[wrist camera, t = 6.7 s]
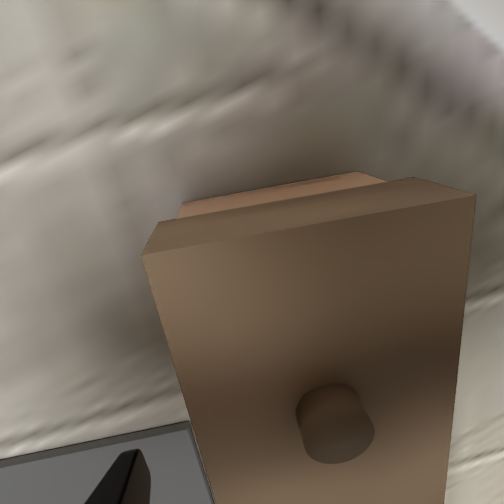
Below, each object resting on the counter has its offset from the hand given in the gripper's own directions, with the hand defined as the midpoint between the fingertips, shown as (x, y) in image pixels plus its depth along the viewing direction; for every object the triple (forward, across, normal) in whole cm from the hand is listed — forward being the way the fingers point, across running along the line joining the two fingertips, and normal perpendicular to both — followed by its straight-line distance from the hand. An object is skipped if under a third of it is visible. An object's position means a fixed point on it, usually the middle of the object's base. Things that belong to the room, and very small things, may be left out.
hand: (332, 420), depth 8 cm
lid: (+2, 0, 0) cm, 2 cm away
